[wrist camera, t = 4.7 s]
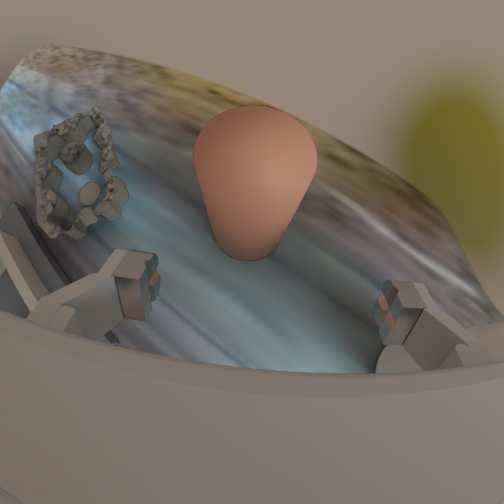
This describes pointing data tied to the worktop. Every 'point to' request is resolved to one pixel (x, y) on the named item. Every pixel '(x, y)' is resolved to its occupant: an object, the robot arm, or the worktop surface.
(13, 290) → the base board
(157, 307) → the worktop surface
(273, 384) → the robot arm
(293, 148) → the pillar
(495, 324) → the drinking glass
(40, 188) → the grey rock frame
